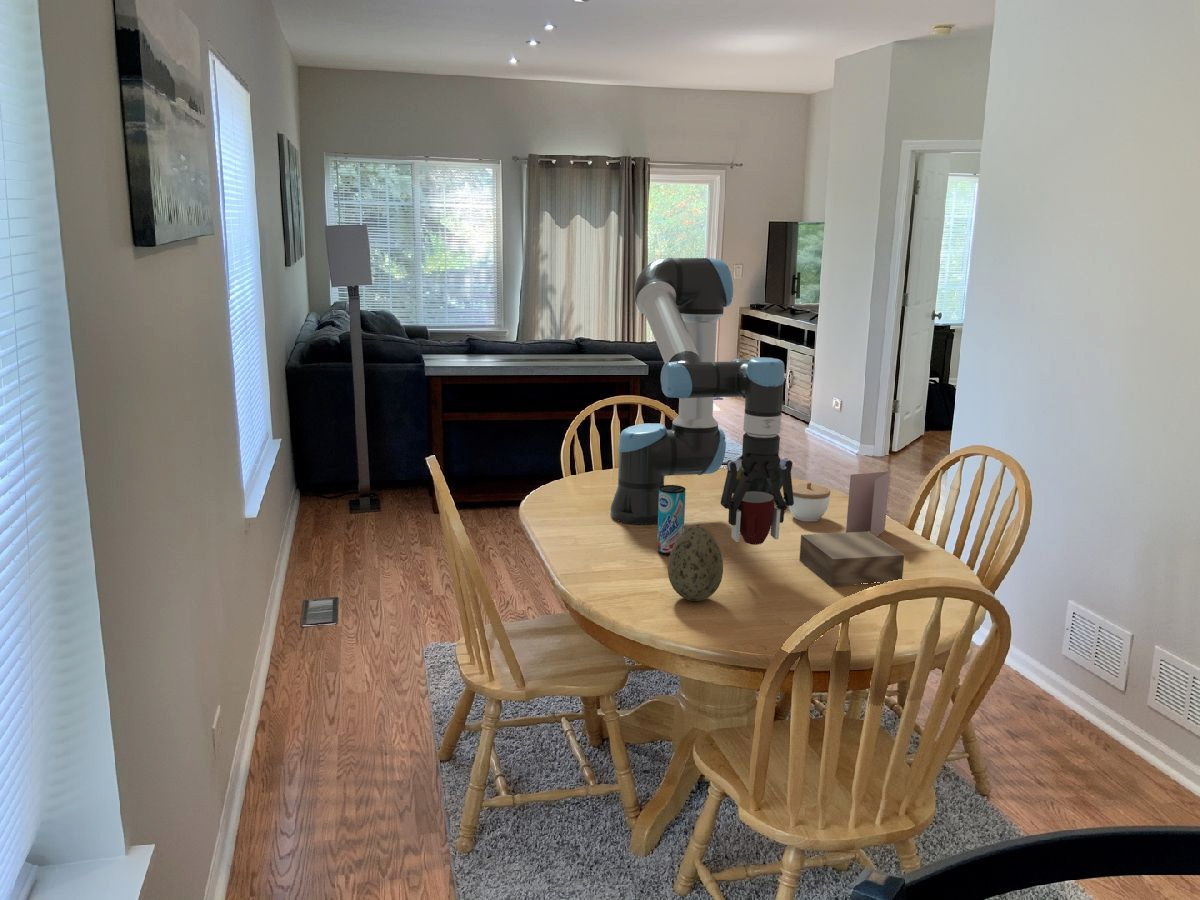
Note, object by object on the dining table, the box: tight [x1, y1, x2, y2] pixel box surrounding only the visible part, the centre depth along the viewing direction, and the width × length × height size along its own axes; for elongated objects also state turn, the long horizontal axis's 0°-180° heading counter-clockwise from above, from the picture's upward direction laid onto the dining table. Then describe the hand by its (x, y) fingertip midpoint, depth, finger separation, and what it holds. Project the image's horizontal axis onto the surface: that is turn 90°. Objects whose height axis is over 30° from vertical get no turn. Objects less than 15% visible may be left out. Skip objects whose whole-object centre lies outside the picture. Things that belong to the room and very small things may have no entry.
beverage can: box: [656, 484, 686, 556], centre depth 209 cm, size 6×6×15 cm
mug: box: [738, 491, 775, 546], centre depth 196 cm, size 11×8×10 cm
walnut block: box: [798, 531, 905, 588], centre depth 200 cm, size 16×16×6 cm
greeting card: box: [845, 471, 891, 537], centre depth 224 cm, size 11×7×15 cm, turn 111°
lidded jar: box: [787, 481, 831, 523], centre depth 237 cm, size 11×11×9 cm
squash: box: [732, 456, 783, 495], centre depth 256 cm, size 14×15×15 cm
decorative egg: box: [667, 525, 724, 602], centre depth 182 cm, size 11×11×15 cm
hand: (754, 538), depth 197 cm, fingers closed on mug, 8 cm apart
